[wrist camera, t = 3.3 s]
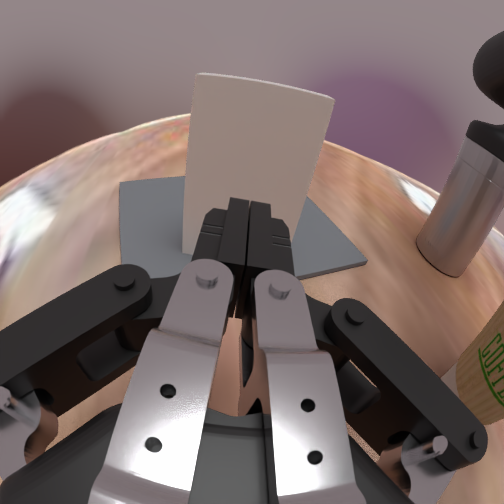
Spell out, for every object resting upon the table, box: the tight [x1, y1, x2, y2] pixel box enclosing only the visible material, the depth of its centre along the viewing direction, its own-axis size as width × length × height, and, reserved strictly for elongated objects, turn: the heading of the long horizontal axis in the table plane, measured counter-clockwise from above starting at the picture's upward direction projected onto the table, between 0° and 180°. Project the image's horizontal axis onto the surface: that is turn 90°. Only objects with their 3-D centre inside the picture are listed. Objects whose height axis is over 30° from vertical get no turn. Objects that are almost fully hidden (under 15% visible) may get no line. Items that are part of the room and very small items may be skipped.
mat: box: [120, 176, 368, 280], centre depth 30 cm, size 24×20×1 cm
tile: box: [182, 73, 335, 255], centre depth 20 cm, size 2×9×15 cm, turn 87°
